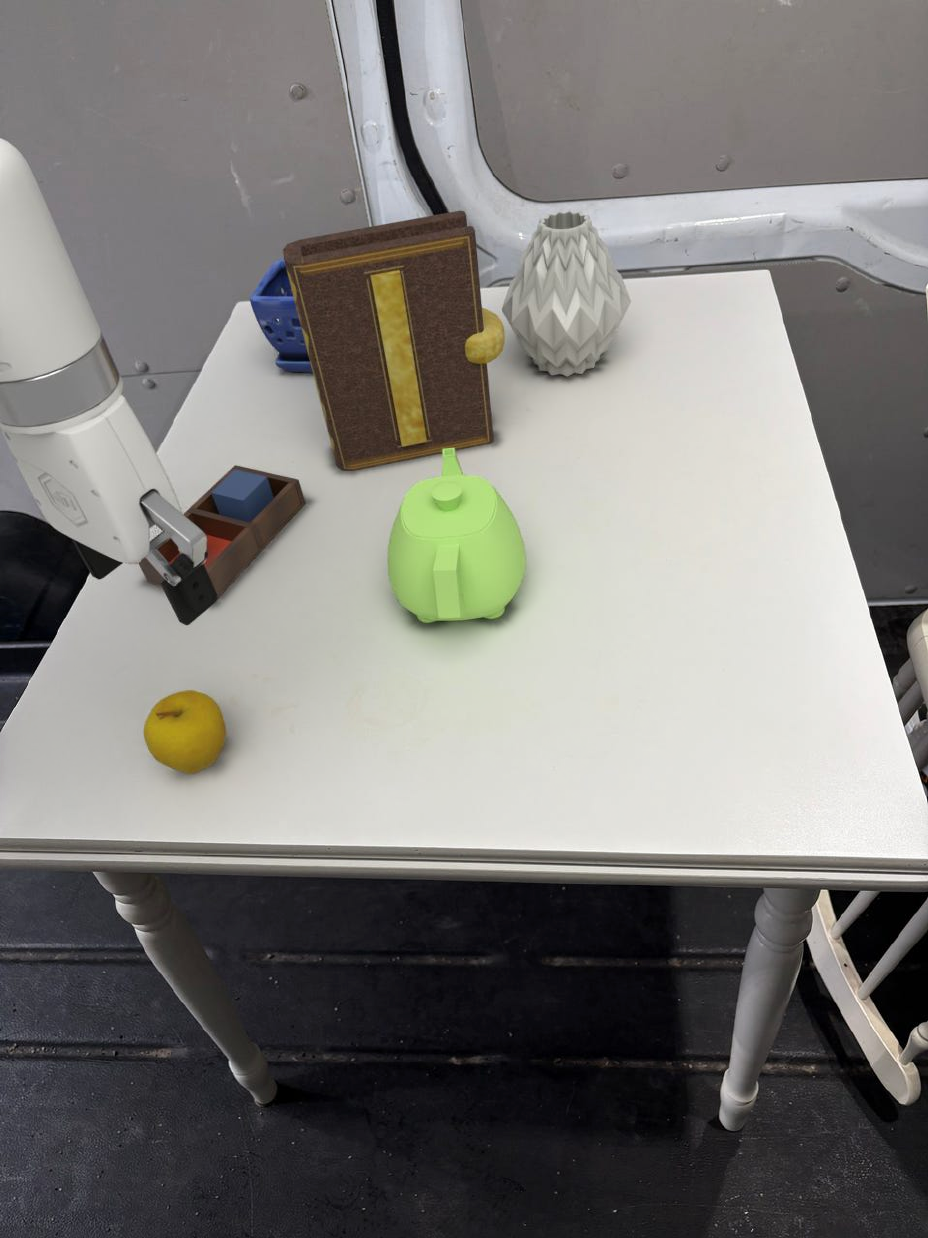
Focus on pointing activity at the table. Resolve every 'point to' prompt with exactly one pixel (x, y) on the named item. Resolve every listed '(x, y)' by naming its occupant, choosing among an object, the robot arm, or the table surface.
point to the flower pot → (280, 319)
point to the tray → (234, 531)
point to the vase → (566, 295)
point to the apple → (185, 731)
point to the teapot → (455, 548)
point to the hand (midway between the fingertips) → (154, 589)
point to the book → (397, 338)
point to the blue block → (242, 495)
